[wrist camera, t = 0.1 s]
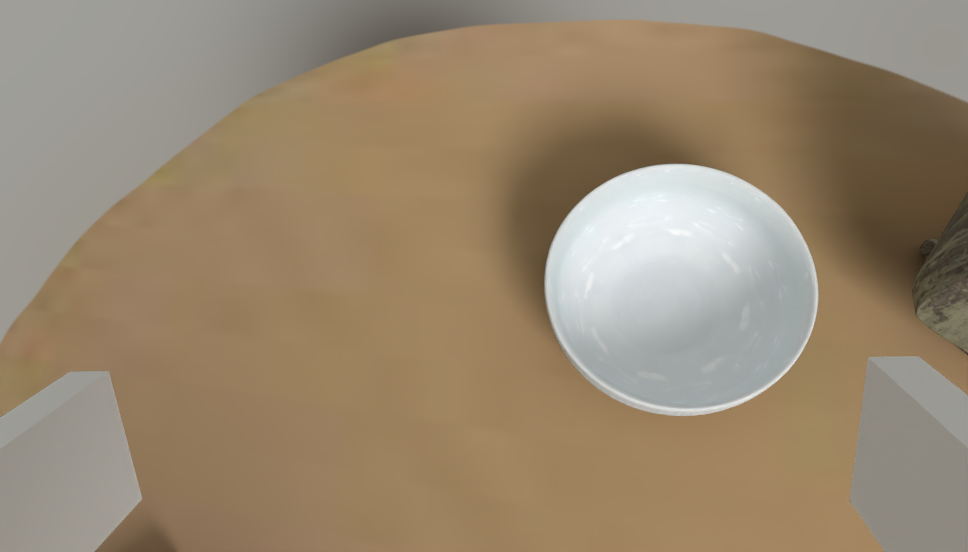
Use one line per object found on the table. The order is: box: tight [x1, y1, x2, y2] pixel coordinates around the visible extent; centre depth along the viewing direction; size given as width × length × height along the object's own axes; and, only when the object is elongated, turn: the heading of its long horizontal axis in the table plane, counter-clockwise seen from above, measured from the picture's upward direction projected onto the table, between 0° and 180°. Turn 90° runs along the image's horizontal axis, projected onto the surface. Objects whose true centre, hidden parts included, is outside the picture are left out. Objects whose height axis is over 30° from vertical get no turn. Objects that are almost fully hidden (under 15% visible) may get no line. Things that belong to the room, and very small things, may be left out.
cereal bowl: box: [544, 164, 818, 416], centre depth 45 cm, size 17×17×7 cm
